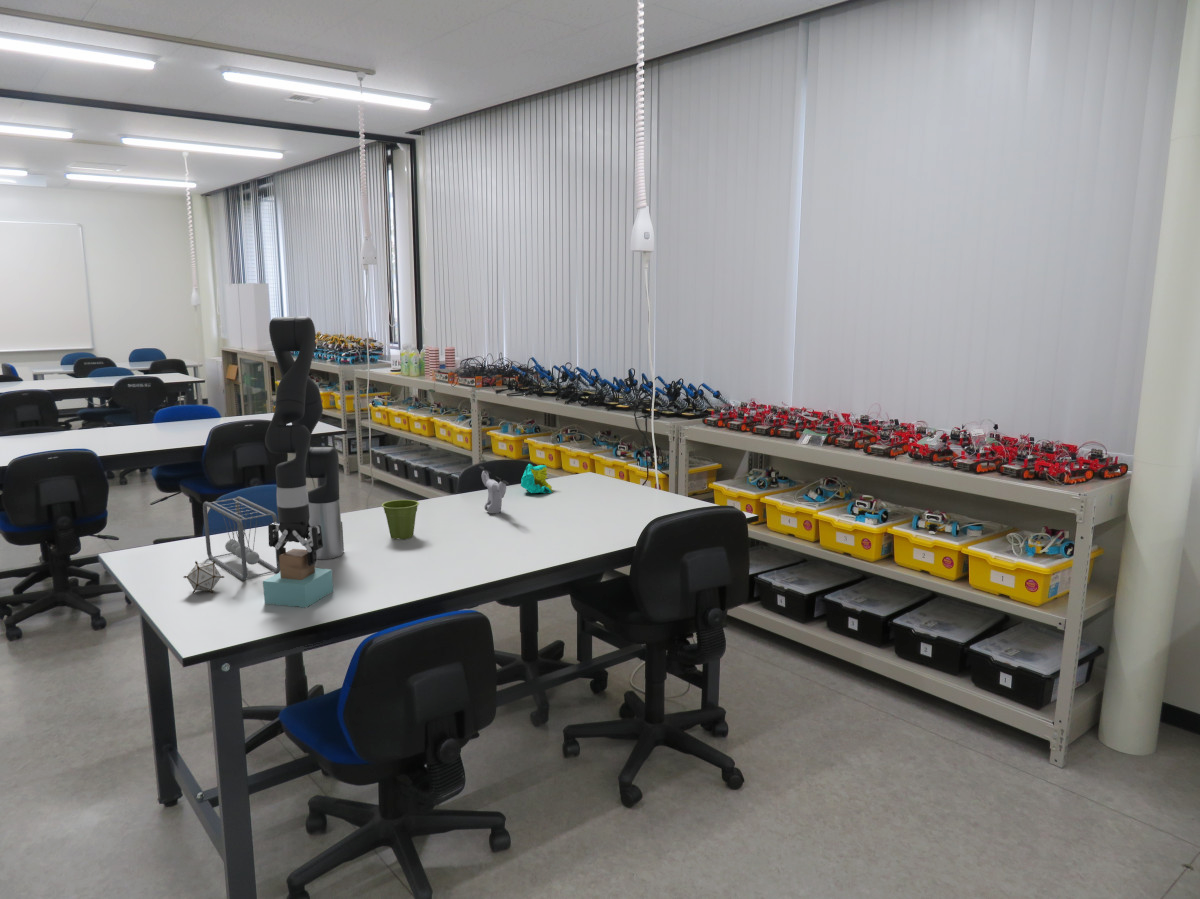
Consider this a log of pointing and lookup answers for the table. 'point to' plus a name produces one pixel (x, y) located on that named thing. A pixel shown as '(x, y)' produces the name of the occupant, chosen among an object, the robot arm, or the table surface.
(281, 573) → the walnut cube
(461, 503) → the table surface
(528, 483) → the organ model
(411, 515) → the plant pot
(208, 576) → the game die
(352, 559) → the table surface
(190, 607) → the table surface
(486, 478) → the figurine
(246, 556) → the newton's cradle
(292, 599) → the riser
